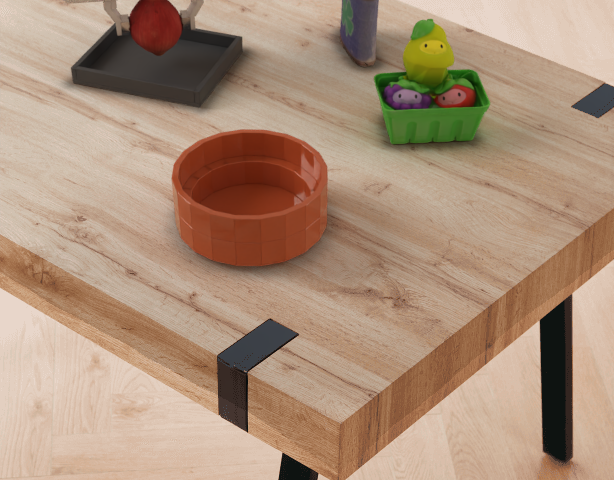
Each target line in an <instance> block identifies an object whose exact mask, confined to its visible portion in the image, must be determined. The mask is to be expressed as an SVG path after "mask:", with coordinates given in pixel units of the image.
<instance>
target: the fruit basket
mask: <svg viewBox="0 0 614 480" xmlns="http://www.w3.org/2000/svg"><path fill="white" fill-rule="evenodd" d="M402 63H403V66H404V70H405V71H395V72H394V71H392V72H381V73H377V74H375V75H374V76H373V81H374V87H375V90H376V92H377V96H378V99H379V105H380V108H381V112H382V113H381V114H382V117H383V121H384V123H385V128H386V132H387V135H388V137H389V142H390V144H391V145H405V144H409V143H410V144H428V143H431V142H433V143H447V142H453V141H456V142H469V141H473V140H474V138H475V136H476V133H477V132H478V129H479V127H480V124H481V122H482V120H483V118H484V115H485V114H486V112H488V110H489V108H490V106H491V100H490V98H489V97H488V94H487V91H486V90H485V86H484V85H483V82H482V80H481V77H480V75H479V73H478V72H477V71H476V70H474V69H470V68H468V69H465V68H463V69H448V68H450V67H452V66H454V64H455V55H454V51H453V49H452V46H451V45H450V43H449V41H448V37H447V34H446V31H445V29H444V28H443V27H442V26H441V25H439V24H437V23H435V22H434V18H427V19H419V21H417V22H416V23H415V24H414V25H413V28H412V32H411V35H410V40H409V41H408V42H407V44H406V45H405V48H404V50H403V54H402Z"/></svg>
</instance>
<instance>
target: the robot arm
mask: <svg viewBox="0 0 614 480" xmlns="http://www.w3.org/2000/svg"><path fill="white" fill-rule="evenodd" d="M62 2H64V3H65V4H69V5H71V4H84V3H85V4H86V3H100V2H101V3H102V5H103V10H104V11H105V13H106V14H107V15H108V16H109V17H110V19H111V20H112V21H113V23H115V22H116V29H117V35H118V36H122V35H131V32H130V23H129V17H128V16H129V14H127V13H126V14H122V13H120V12H119V10H118V9H117V8H118V5H117V0H62ZM204 2H205V0H190V2H189V4H188V6H187V8H186V9H182V10H181V9H180V10H179V14H180V17H181V22H182V31H185V30H195V28H196V18H195V17H197V16H198V14H199V11H200V10H201V8H202V7H203V5H204Z"/></svg>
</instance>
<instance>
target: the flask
mask: <svg viewBox="0 0 614 480" xmlns="http://www.w3.org/2000/svg"><path fill="white" fill-rule="evenodd" d="M379 3H380V0H341V8H340V9H341V15H340V26H339V42H340V44H341V47H342V48H343V49H344V50H345V52H346V54H347V55H348V57H350V59H351V60H352V61H353V62H354V63H355V64H357V65H358V66H360V67H364V68H367V67H369V66H372V67H374V65H375V63H376V60H377V59H376V58H377V57H376V56H377V55H376V53H377V31H378V17H379Z"/></svg>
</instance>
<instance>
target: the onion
mask: <svg viewBox="0 0 614 480" xmlns="http://www.w3.org/2000/svg"><path fill="white" fill-rule="evenodd" d="M128 16H129V23H130V32H131V36H132V39H133V40H134V41H135V42H136V43H137V44H138V45H139V46H141V47H142V48H143V49H145V50H146V51H148V52H151V53H153V54H154V55H156V56H161V55H163V54H164V53H165V52H166V51H168V50H169V49H171V48H172V47H173V46H174V45H175V44H176V43H177V41H178V40H179V38H180V36H181V33H182V22H181V17H180V11H179V10H178V9H177V8H176V6H175V5H174V4H173V3H171V1H170V0H138V1H137V2H136V3H135V5H134V6H133V8H132V9H131V12H130V13H129V15H128Z"/></svg>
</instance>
